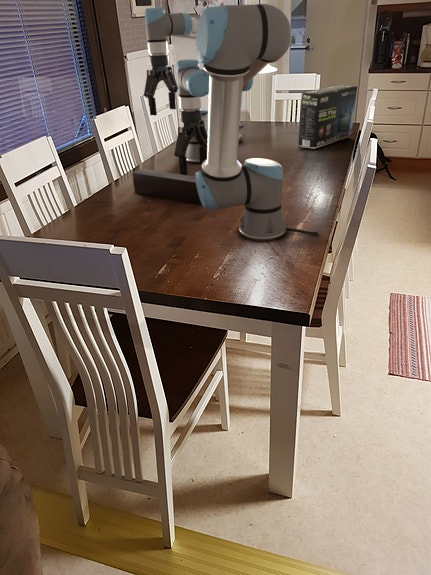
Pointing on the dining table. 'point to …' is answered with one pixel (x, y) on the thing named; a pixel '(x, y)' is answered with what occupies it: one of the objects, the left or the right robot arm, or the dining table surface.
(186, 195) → the bar
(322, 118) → the router box
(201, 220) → the dining table surface
